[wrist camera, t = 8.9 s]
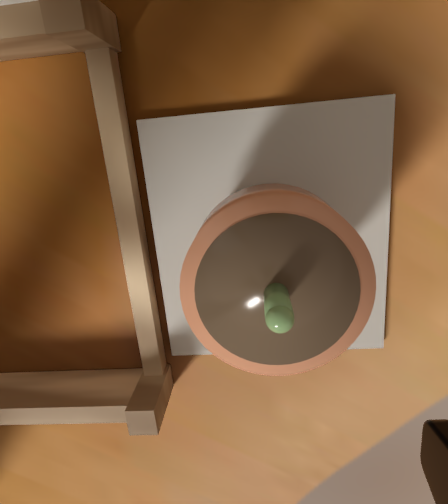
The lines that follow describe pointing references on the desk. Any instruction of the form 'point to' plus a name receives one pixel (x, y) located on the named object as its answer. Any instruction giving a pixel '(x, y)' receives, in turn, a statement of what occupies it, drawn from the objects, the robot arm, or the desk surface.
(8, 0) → the lid pane
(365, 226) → the stone tile
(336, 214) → the seedling pot
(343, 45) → the desk surface
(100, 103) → the frame
